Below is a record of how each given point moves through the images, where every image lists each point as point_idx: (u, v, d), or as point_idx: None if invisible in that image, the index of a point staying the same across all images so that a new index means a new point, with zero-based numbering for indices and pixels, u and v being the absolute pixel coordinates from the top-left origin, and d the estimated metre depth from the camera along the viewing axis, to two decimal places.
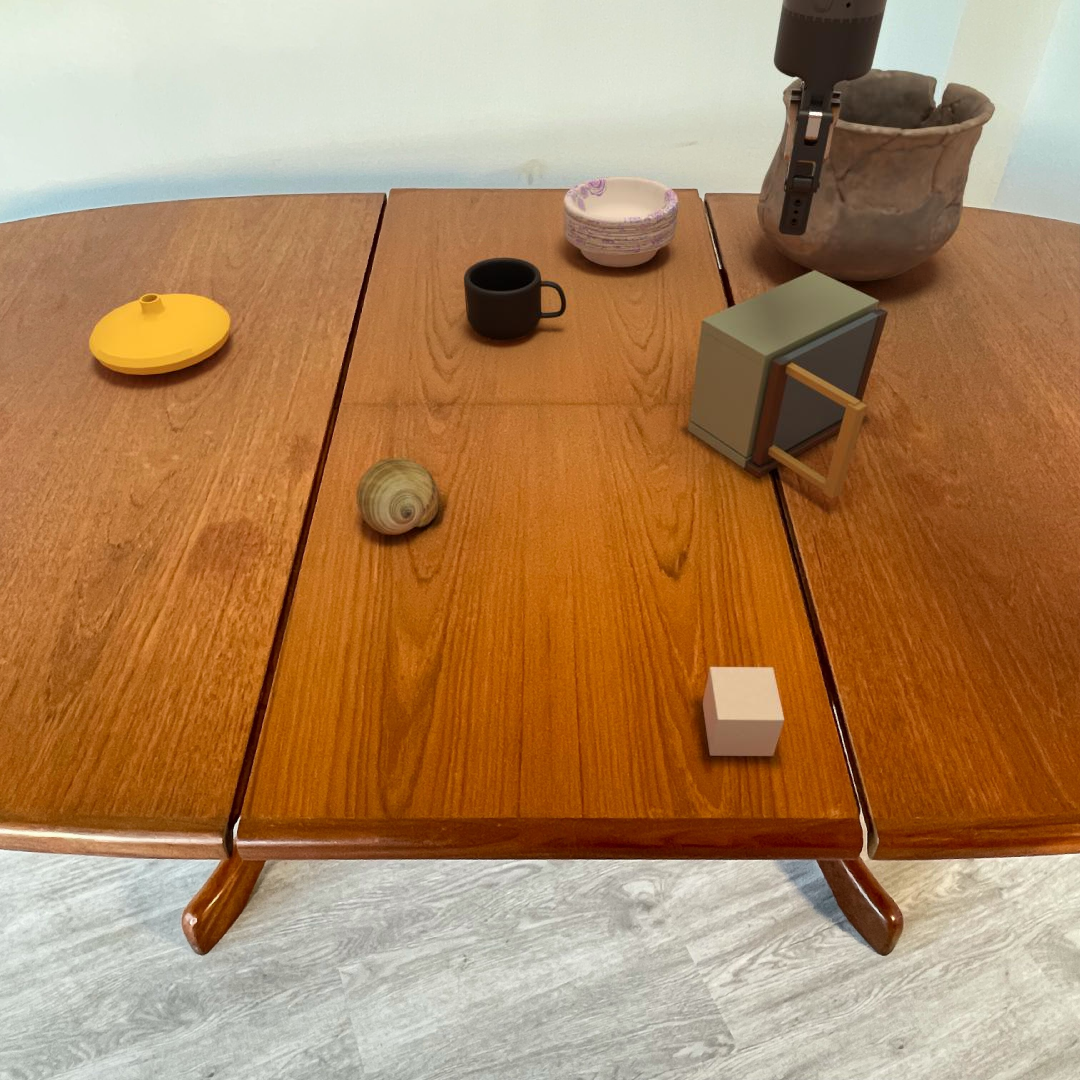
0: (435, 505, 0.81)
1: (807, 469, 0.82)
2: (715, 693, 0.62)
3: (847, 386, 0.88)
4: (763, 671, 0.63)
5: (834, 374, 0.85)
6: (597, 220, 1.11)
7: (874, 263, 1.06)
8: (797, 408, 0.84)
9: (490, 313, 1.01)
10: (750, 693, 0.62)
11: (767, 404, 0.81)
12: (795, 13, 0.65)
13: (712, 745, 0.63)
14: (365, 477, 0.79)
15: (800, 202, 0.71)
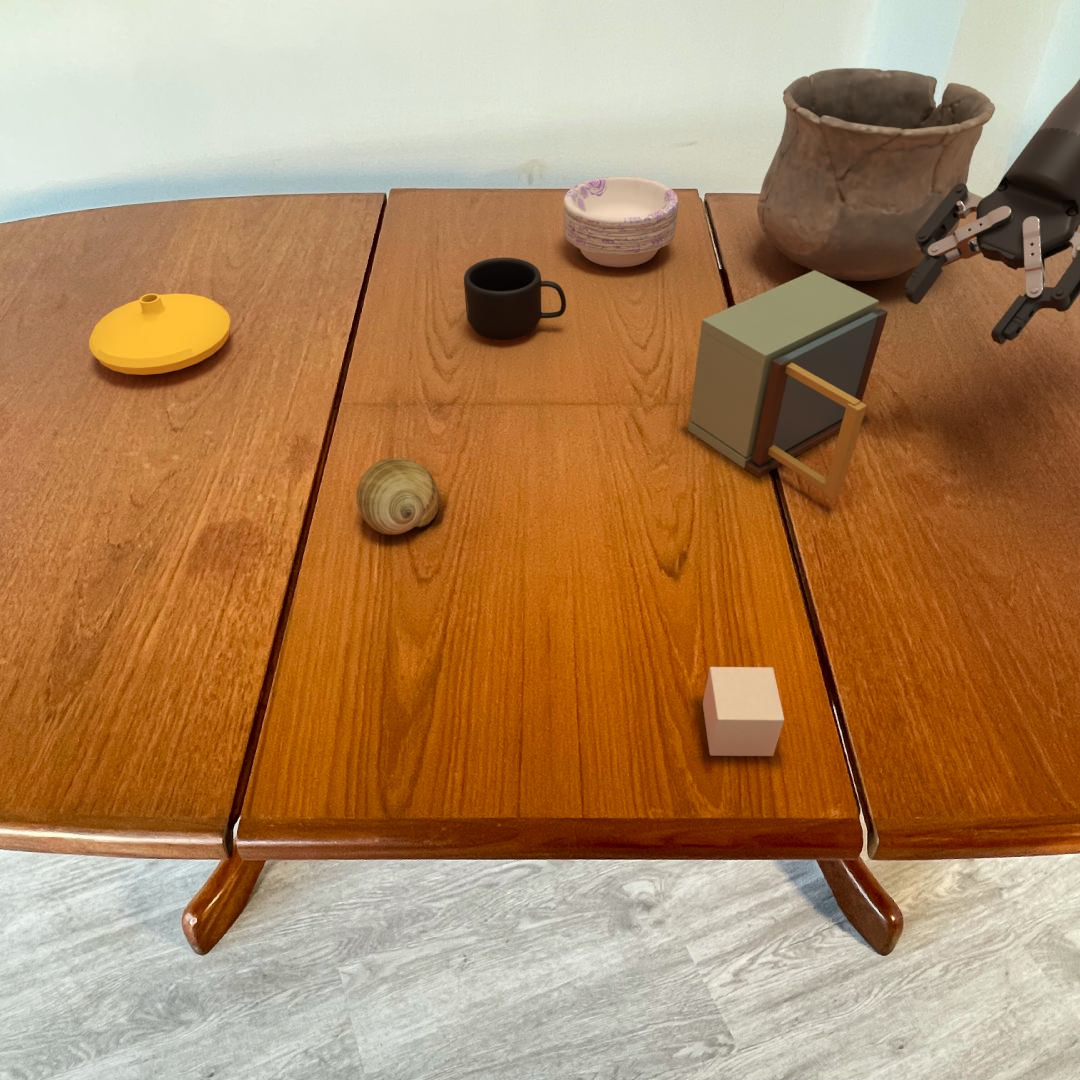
0: (435, 505, 0.81)
1: (807, 469, 0.82)
2: (715, 693, 0.62)
3: (847, 386, 0.88)
4: (763, 671, 0.63)
5: (834, 374, 0.85)
6: (597, 220, 1.11)
7: (874, 263, 1.06)
8: (797, 408, 0.84)
9: (490, 313, 1.01)
10: (750, 693, 0.62)
11: (767, 404, 0.81)
12: None
13: (712, 745, 0.63)
14: (365, 477, 0.79)
15: None
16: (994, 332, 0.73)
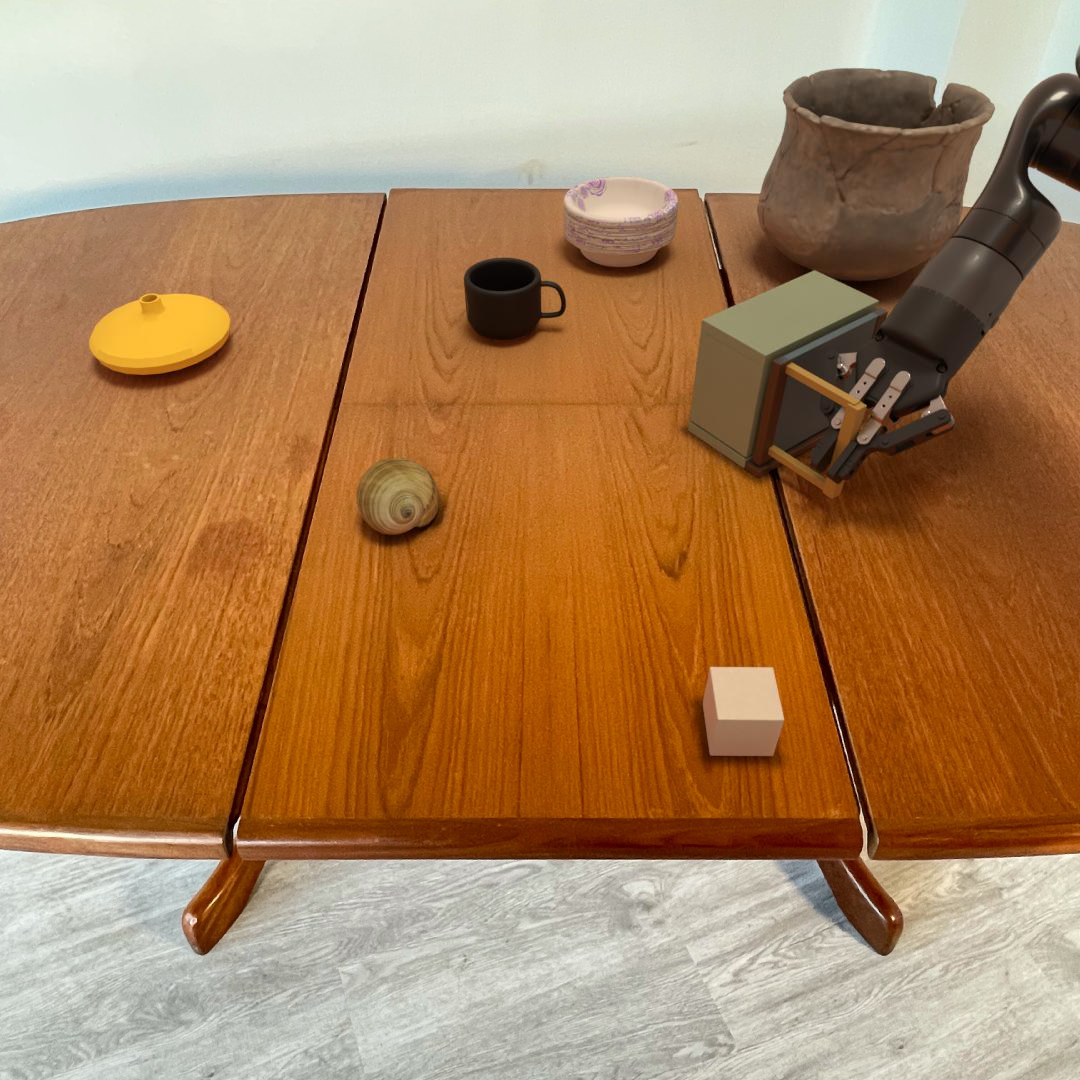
0: (435, 505, 0.81)
1: (807, 469, 0.82)
2: (715, 693, 0.62)
3: (847, 386, 0.88)
4: (763, 671, 0.63)
5: None
6: (597, 220, 1.11)
7: (874, 263, 1.06)
8: (797, 408, 0.84)
9: (490, 313, 1.01)
10: (750, 693, 0.62)
11: (767, 404, 0.81)
12: None
13: (712, 745, 0.63)
14: (365, 477, 0.79)
15: None
16: (828, 474, 0.77)
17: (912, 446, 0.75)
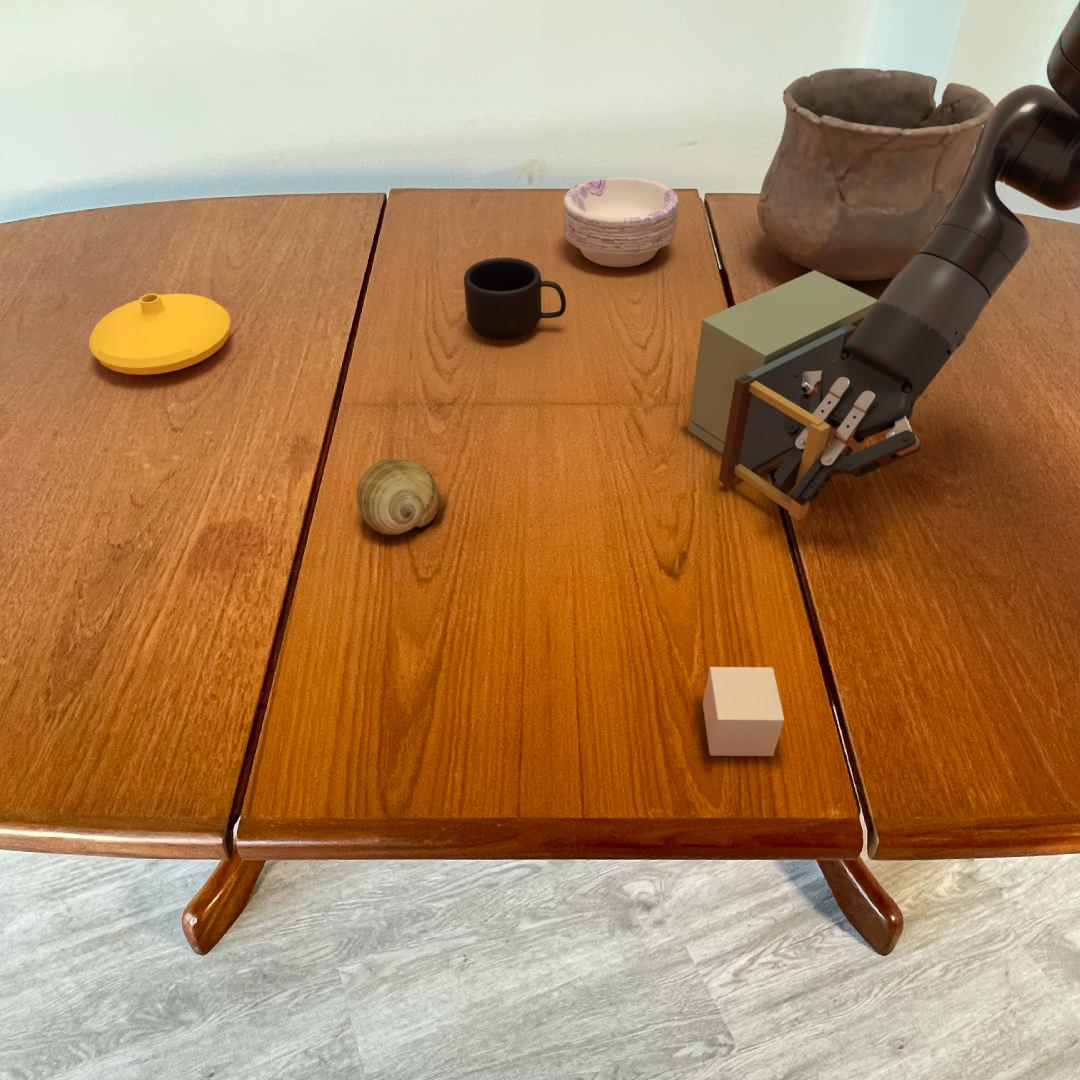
0: (435, 505, 0.81)
1: (773, 489, 0.80)
2: (715, 693, 0.62)
3: (816, 402, 0.86)
4: (763, 671, 0.63)
5: None
6: (597, 220, 1.11)
7: (874, 263, 1.06)
8: (763, 426, 0.82)
9: (490, 313, 1.01)
10: (750, 693, 0.62)
11: (732, 423, 0.79)
12: None
13: (712, 745, 0.63)
14: (365, 477, 0.79)
15: (792, 457, 0.76)
16: (792, 496, 0.75)
17: (877, 467, 0.73)
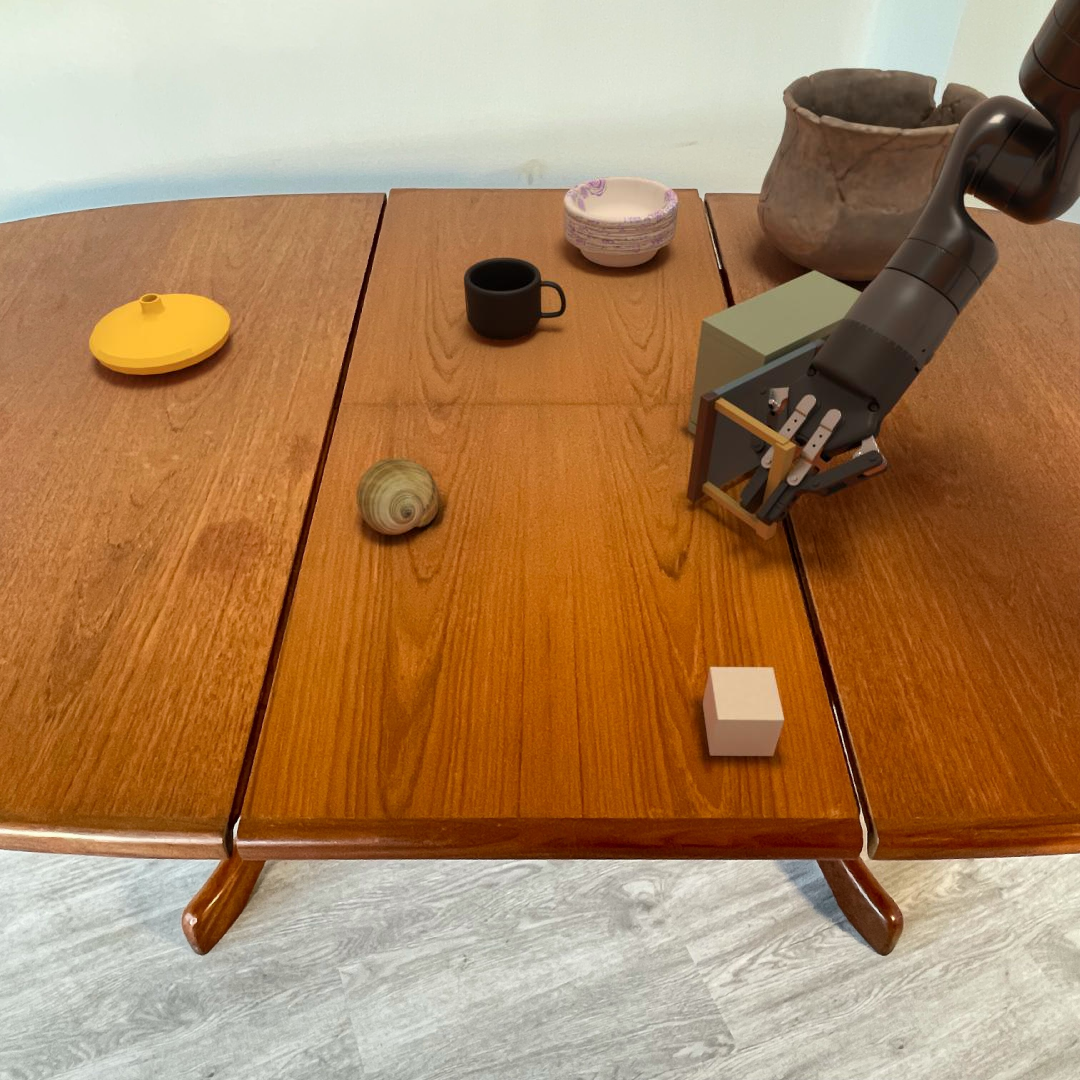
0: (435, 505, 0.81)
1: (740, 508, 0.79)
2: (715, 693, 0.62)
3: None
4: (763, 671, 0.63)
5: None
6: (597, 220, 1.11)
7: (874, 263, 1.06)
8: (731, 443, 0.80)
9: (490, 313, 1.01)
10: (750, 693, 0.62)
11: (698, 441, 0.78)
12: None
13: (712, 745, 0.63)
14: (365, 477, 0.79)
15: None
16: (758, 516, 0.73)
17: (844, 488, 0.71)
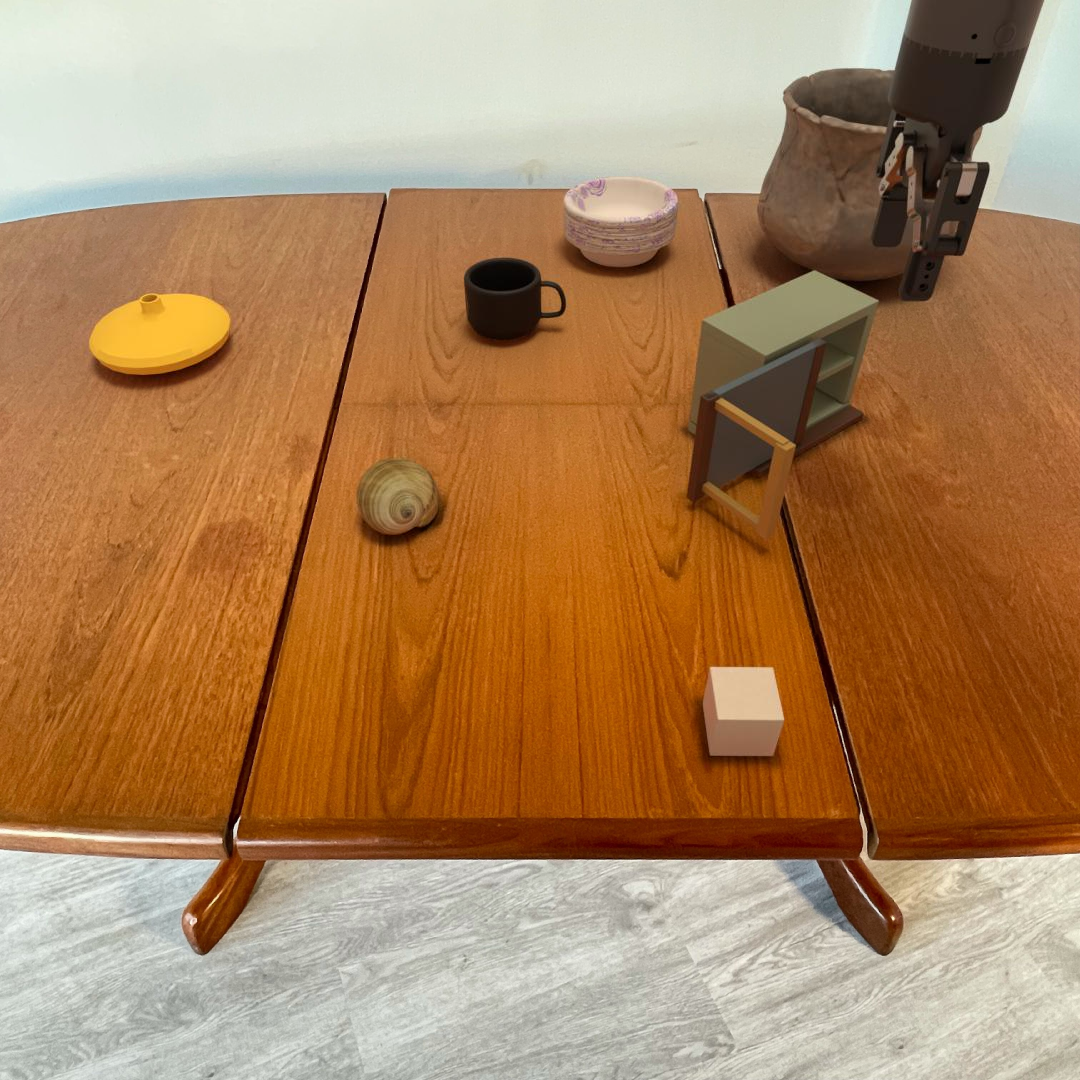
0: (435, 505, 0.81)
1: (740, 508, 0.79)
2: (715, 693, 0.62)
3: (787, 418, 0.84)
4: (763, 671, 0.63)
5: (771, 407, 0.81)
6: (597, 220, 1.11)
7: (874, 263, 1.06)
8: (731, 443, 0.80)
9: (490, 313, 1.01)
10: (750, 693, 0.62)
11: (698, 441, 0.78)
12: None
13: (712, 745, 0.63)
14: (365, 477, 0.79)
15: None
16: None
17: (968, 226, 0.57)
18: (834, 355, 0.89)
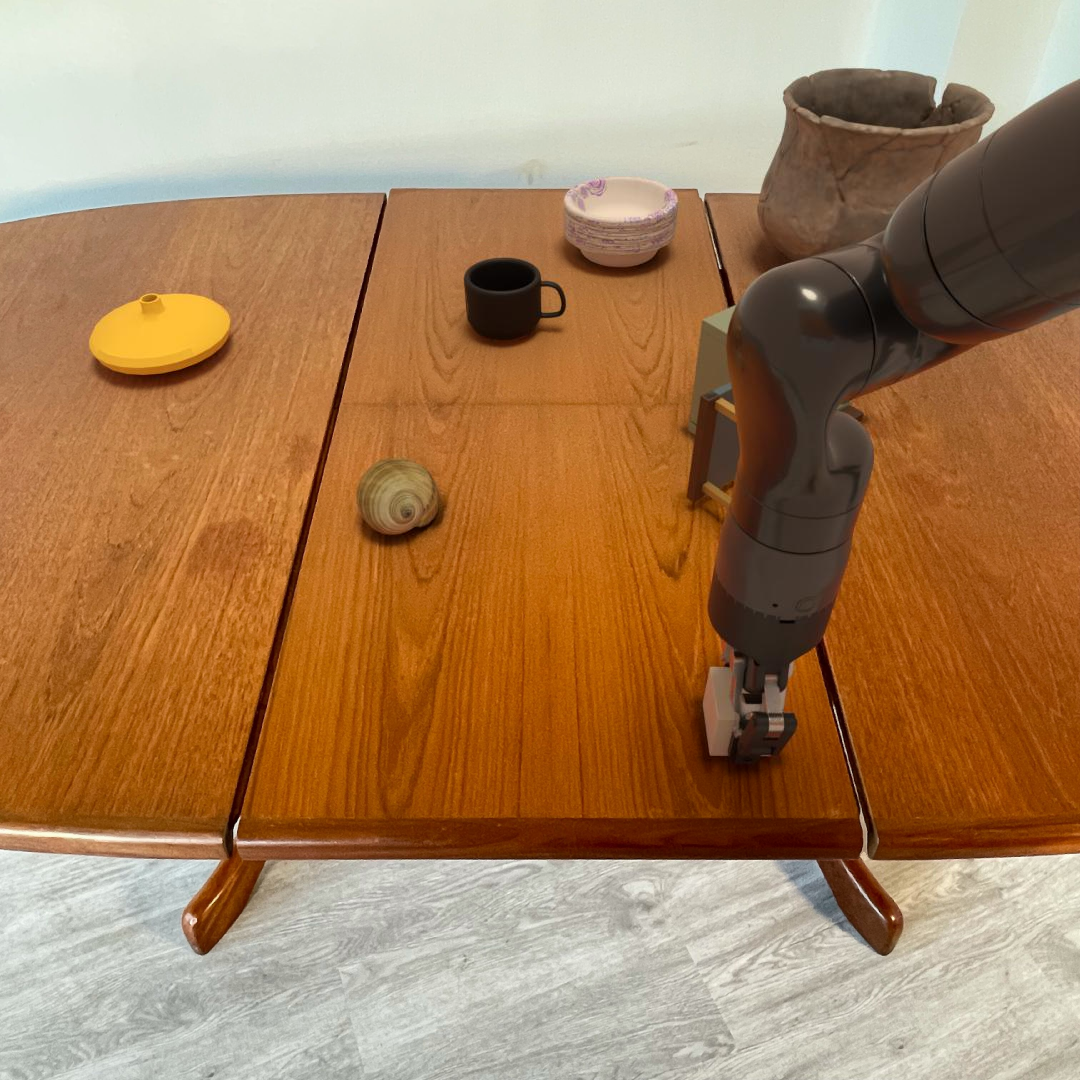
0: (435, 505, 0.81)
1: None
2: (715, 693, 0.62)
3: None
4: None
5: None
6: (597, 220, 1.11)
7: None
8: (731, 443, 0.80)
9: (490, 313, 1.01)
10: None
11: (698, 441, 0.78)
12: None
13: (712, 745, 0.63)
14: (365, 477, 0.79)
15: None
16: (728, 755, 0.63)
17: (778, 748, 0.56)
18: None
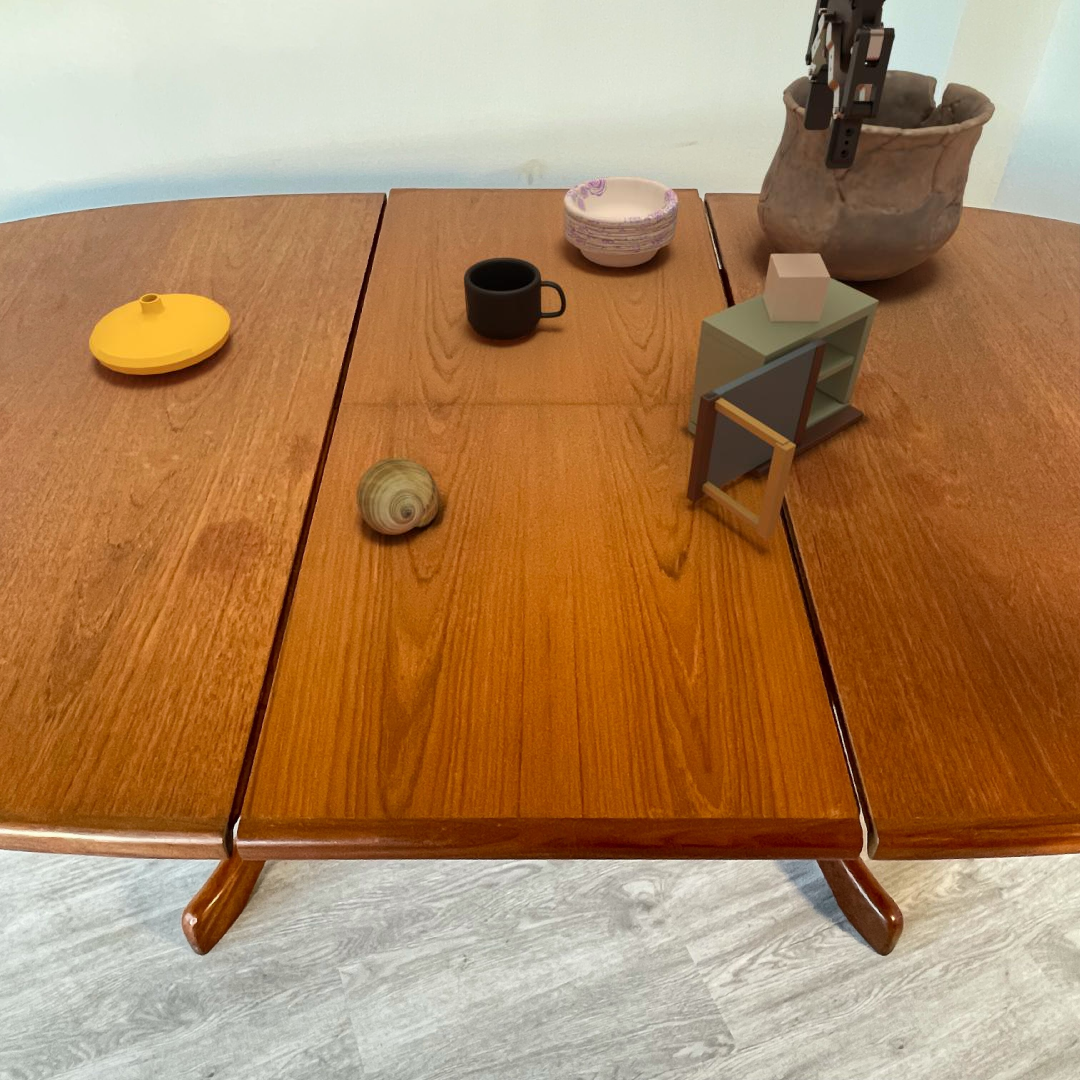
0: (435, 505, 0.81)
1: (740, 508, 0.79)
2: (776, 265, 0.81)
3: (787, 418, 0.84)
4: (812, 255, 0.82)
5: (771, 407, 0.81)
6: (597, 220, 1.11)
7: (874, 263, 1.06)
8: (731, 443, 0.80)
9: (490, 313, 1.01)
10: (803, 265, 0.81)
11: (698, 441, 0.78)
12: None
13: (773, 309, 0.81)
14: (365, 477, 0.79)
15: None
16: None
17: (878, 88, 0.64)
18: (834, 355, 0.89)
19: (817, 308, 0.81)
